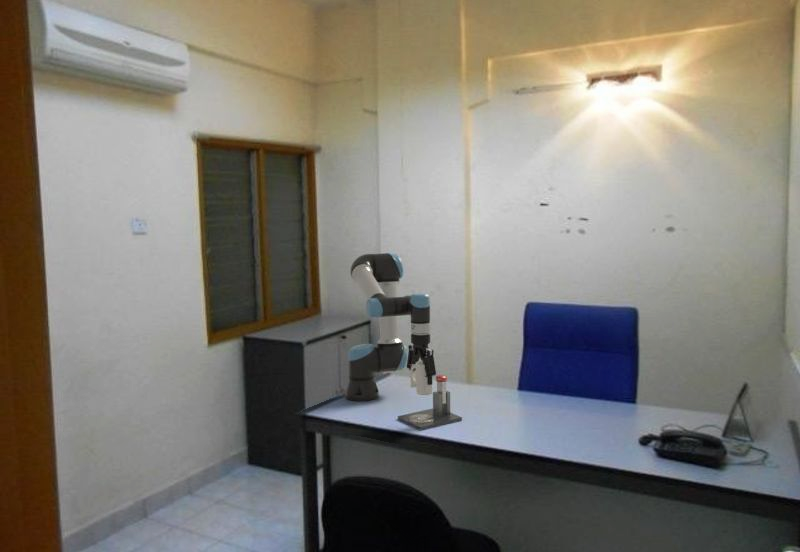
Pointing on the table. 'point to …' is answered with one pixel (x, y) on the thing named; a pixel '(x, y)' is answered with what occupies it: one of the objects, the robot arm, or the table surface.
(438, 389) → the red-capped tube
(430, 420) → the dark grey holder stand
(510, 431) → the table surface
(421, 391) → the mug
